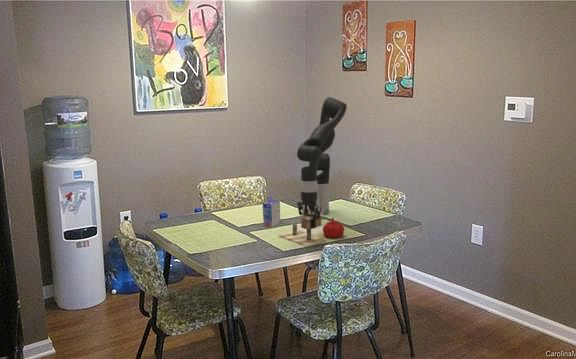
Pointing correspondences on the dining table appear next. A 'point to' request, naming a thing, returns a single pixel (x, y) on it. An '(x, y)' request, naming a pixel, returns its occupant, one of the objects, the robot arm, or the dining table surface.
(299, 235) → the pin board
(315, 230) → the mat
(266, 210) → the ink cartridge box
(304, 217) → the sleeve
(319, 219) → the sleeve
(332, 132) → the robot arm
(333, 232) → the pomegranate
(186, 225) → the dining table surface
